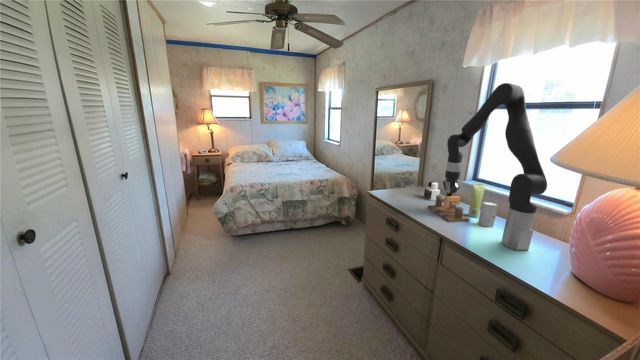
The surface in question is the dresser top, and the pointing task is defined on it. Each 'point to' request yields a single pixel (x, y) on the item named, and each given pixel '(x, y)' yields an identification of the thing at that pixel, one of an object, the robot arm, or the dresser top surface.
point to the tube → (476, 199)
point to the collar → (447, 202)
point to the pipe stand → (448, 216)
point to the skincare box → (487, 214)
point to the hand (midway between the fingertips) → (448, 198)
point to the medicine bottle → (431, 191)
